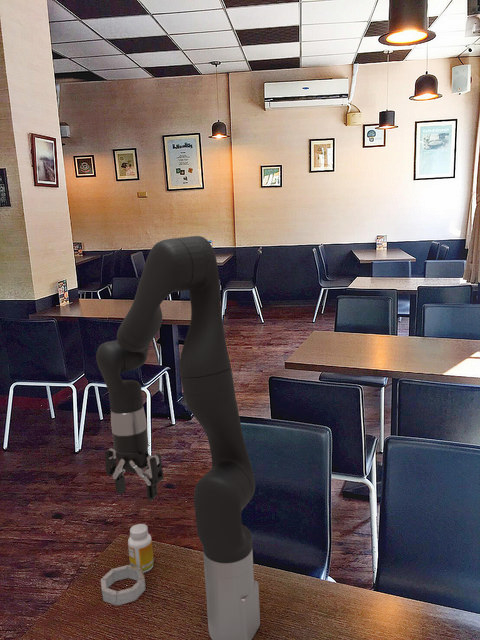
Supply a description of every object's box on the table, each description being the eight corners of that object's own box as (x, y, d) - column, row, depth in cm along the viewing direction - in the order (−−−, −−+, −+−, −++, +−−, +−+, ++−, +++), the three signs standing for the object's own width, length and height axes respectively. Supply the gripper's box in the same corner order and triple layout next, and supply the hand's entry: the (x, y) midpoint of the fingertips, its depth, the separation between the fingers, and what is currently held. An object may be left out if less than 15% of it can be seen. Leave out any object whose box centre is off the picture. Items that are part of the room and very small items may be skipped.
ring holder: (152, 581, 113) (151, 571, 113) (127, 609, 105) (126, 598, 105) (120, 571, 117) (119, 562, 117) (93, 597, 109) (92, 587, 109)
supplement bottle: (156, 559, 121) (153, 521, 119) (150, 574, 116) (146, 535, 114) (134, 559, 122) (130, 521, 120) (127, 574, 116) (123, 535, 115)
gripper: (165, 425, 113) (172, 493, 116) (115, 418, 120) (122, 483, 122) (145, 438, 107) (152, 509, 109) (92, 430, 113) (101, 498, 116)
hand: (136, 495), depth 116 cm, fingers open, 8 cm apart
